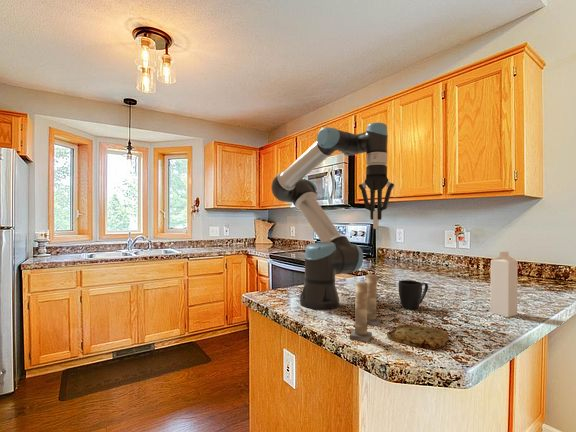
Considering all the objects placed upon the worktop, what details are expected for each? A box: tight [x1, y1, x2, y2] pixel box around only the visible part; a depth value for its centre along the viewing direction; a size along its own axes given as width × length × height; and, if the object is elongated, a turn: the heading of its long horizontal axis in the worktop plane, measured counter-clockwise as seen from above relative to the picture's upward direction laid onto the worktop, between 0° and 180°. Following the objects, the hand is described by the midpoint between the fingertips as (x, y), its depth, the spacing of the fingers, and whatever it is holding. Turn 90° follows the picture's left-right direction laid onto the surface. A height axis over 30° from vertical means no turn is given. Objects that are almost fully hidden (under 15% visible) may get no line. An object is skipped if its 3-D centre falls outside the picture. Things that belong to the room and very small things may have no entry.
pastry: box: [386, 323, 450, 350], centre depth 86 cm, size 17×17×3 cm
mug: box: [398, 279, 429, 311], centre depth 117 cm, size 8×12×10 cm
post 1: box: [349, 281, 373, 343], centre depth 86 cm, size 5×5×15 cm
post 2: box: [365, 273, 381, 327], centre depth 99 cm, size 5×5×15 cm
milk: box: [489, 251, 519, 318], centre depth 110 cm, size 6×6×22 cm
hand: (375, 228), depth 115 cm, fingers closed
